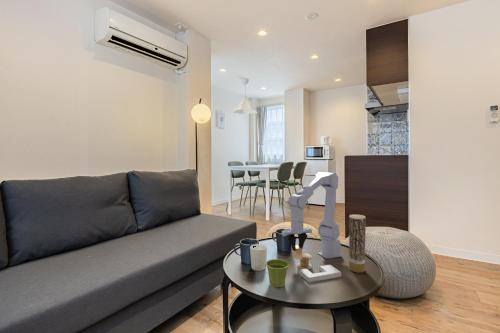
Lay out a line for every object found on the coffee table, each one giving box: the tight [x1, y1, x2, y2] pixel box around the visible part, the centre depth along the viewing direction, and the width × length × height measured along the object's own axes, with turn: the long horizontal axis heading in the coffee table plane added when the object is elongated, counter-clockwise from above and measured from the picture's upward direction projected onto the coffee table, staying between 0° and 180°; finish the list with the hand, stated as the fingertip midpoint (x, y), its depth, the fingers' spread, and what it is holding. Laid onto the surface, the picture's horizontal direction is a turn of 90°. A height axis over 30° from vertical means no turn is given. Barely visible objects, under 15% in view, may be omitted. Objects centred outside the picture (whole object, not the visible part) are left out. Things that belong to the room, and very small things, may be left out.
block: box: [291, 244, 303, 260], centre depth 119 cm, size 3×4×5 cm
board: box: [299, 264, 342, 283], centre depth 114 cm, size 16×8×2 cm, turn 108°
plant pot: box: [266, 258, 290, 288], centre depth 106 cm, size 9×9×9 cm
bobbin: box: [296, 252, 313, 271], centre depth 122 cm, size 7×7×5 cm
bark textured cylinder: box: [348, 214, 367, 274], centre depth 118 cm, size 7×7×25 cm
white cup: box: [249, 243, 268, 272], centre depth 121 cm, size 8×8×10 cm
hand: (297, 249), depth 119 cm, fingers closed on block, 3 cm apart
